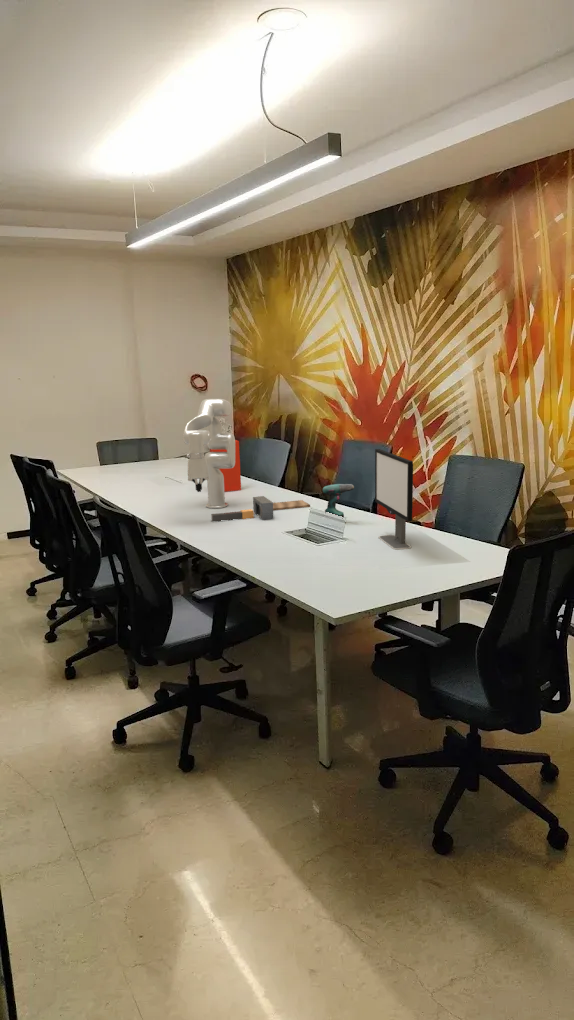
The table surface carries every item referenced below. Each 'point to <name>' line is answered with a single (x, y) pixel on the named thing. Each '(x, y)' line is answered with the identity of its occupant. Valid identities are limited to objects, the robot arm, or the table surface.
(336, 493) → the power drill
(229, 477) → the file binder
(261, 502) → the grey slotted block
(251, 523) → the table surface
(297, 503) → the pad
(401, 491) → the computer monitor
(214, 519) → the grey and orange bar
